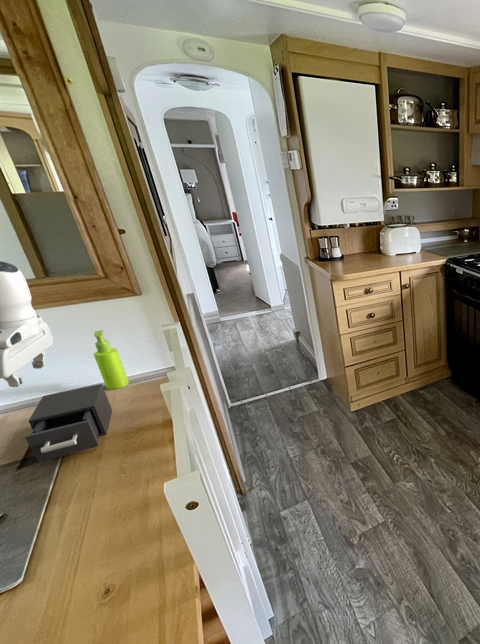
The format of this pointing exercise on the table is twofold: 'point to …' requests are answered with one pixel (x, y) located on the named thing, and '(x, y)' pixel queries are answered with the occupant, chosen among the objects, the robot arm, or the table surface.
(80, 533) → the table surface
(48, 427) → the drawer
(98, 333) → the soap dispenser
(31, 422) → the cabinet
